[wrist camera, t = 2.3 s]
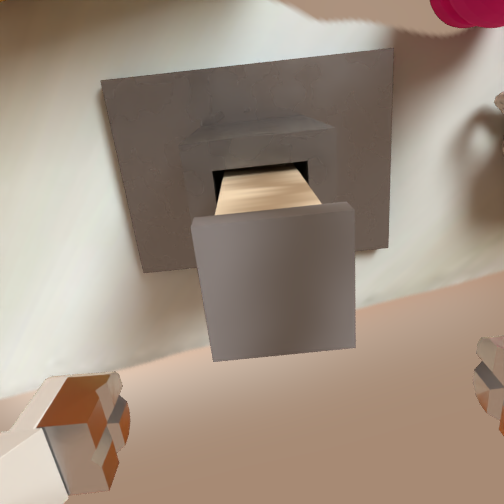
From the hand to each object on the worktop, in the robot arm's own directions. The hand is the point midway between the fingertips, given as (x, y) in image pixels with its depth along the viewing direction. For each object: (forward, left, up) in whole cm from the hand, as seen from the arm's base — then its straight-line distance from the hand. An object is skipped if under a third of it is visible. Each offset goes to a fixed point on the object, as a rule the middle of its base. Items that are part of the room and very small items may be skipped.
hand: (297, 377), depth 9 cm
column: (0, 0, -25) cm, 25 cm away
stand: (0, 0, -27) cm, 27 cm away
